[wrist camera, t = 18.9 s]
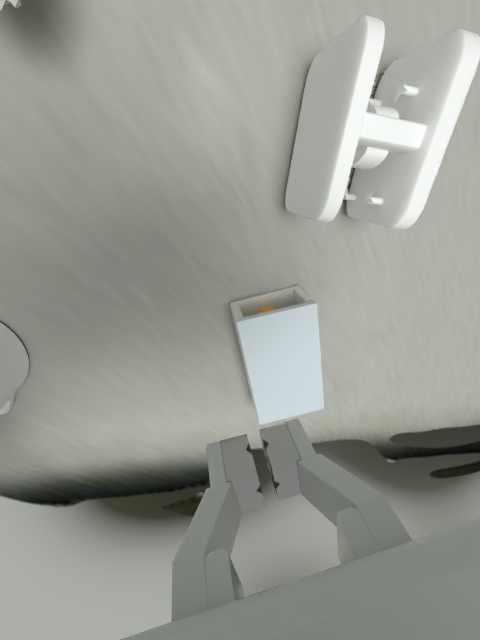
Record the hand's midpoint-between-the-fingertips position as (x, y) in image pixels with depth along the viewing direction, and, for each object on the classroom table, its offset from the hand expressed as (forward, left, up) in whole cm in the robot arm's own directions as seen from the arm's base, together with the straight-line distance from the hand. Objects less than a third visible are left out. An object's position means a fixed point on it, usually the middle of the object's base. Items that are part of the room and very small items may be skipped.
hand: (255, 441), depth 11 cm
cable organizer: (+18, +8, -29) cm, 35 cm away
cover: (+7, -17, -24) cm, 30 cm away
